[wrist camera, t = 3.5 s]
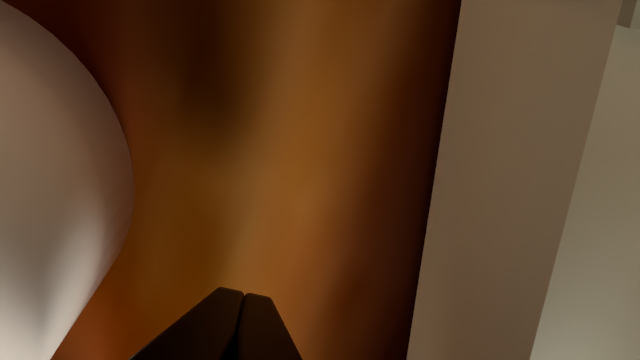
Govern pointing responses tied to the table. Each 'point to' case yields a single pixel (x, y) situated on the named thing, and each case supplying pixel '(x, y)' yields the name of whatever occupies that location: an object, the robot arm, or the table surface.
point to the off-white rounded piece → (54, 188)
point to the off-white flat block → (536, 188)
